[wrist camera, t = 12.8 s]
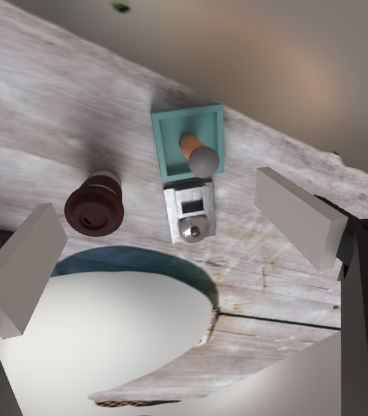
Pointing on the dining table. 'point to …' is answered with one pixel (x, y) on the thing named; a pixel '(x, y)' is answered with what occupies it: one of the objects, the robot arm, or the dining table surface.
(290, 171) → the dining table surface
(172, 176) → the tray
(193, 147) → the pin
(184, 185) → the silver rectangular stand
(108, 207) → the coffee cup
